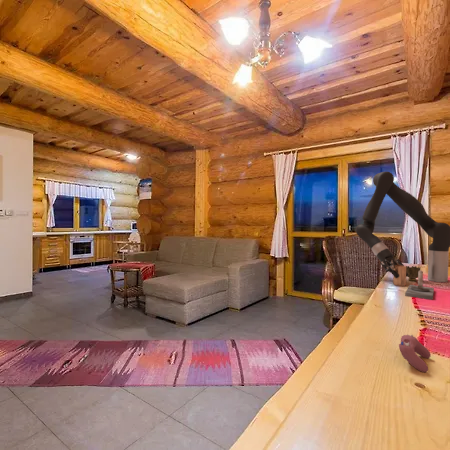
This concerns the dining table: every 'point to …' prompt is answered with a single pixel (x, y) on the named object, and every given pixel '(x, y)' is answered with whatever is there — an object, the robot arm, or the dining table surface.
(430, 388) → the dining table surface
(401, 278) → the copper collar
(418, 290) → the shaft stand
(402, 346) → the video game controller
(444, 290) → the dining table surface
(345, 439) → the dining table surface
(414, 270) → the bronze rounded piece
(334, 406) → the dining table surface
